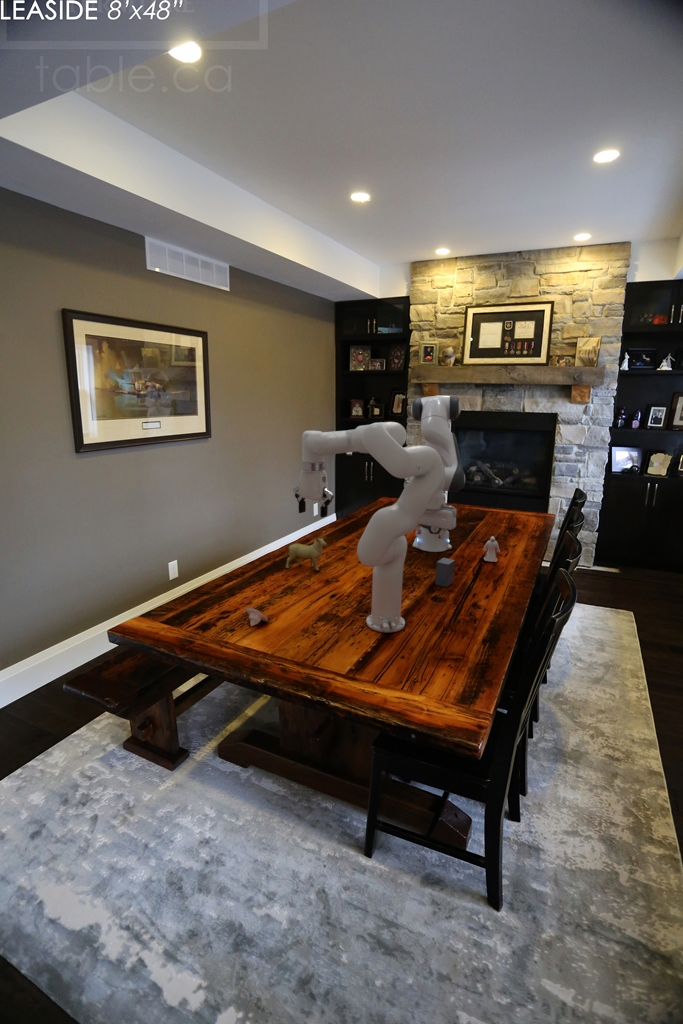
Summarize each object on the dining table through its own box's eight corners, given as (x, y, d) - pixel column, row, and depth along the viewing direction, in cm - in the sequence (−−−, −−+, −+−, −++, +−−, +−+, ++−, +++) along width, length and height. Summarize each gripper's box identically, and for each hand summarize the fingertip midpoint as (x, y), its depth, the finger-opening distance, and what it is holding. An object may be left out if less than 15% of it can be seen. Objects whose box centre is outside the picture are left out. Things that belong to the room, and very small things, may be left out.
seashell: (251, 634, 162) (235, 615, 161) (262, 623, 165) (246, 604, 164) (262, 630, 156) (245, 610, 155) (273, 618, 159) (257, 599, 158)
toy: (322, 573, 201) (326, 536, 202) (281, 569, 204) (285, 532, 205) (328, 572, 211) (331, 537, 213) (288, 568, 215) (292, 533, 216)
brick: (453, 582, 199) (455, 560, 197) (446, 587, 194) (448, 564, 192) (441, 579, 202) (443, 557, 199) (435, 584, 196) (436, 561, 194)
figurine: (481, 562, 222) (483, 536, 219) (482, 556, 230) (484, 531, 227) (499, 564, 220) (501, 538, 217) (499, 558, 228) (501, 533, 225)
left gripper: (339, 468, 171) (338, 516, 176) (300, 463, 181) (300, 509, 185) (326, 470, 165) (326, 520, 170) (286, 465, 175) (287, 512, 179)
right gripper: (460, 505, 194) (457, 539, 197) (412, 497, 204) (410, 529, 208) (454, 508, 188) (451, 543, 192) (405, 500, 199) (403, 533, 203)
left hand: (312, 514), depth 177 cm, fingers open, 9 cm apart
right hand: (429, 536), depth 200 cm, fingers open, 8 cm apart
